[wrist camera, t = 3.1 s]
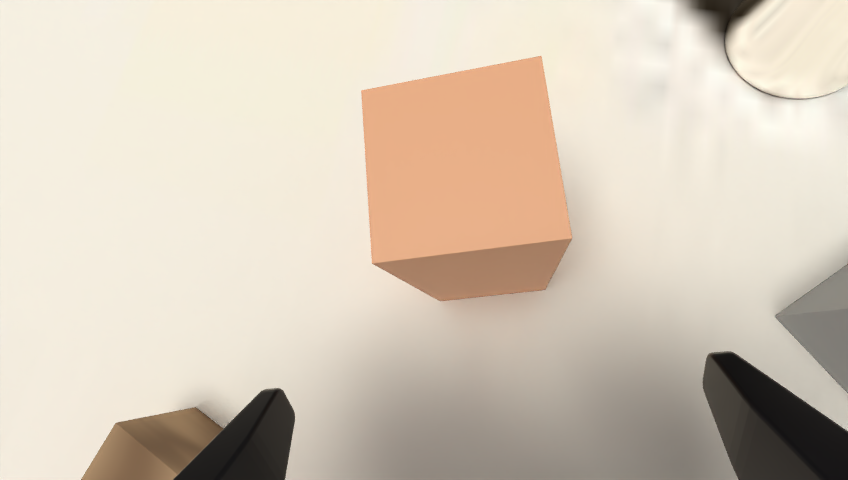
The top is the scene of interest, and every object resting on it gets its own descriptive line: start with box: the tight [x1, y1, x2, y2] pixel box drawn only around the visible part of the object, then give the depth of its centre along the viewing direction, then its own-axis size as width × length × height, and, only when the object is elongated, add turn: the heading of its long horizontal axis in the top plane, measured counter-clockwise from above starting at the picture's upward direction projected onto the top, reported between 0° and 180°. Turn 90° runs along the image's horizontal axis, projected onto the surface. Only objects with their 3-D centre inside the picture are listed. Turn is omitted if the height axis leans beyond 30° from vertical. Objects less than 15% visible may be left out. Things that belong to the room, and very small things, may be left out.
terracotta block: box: [361, 56, 572, 301], centre depth 17 cm, size 5×5×11 cm
